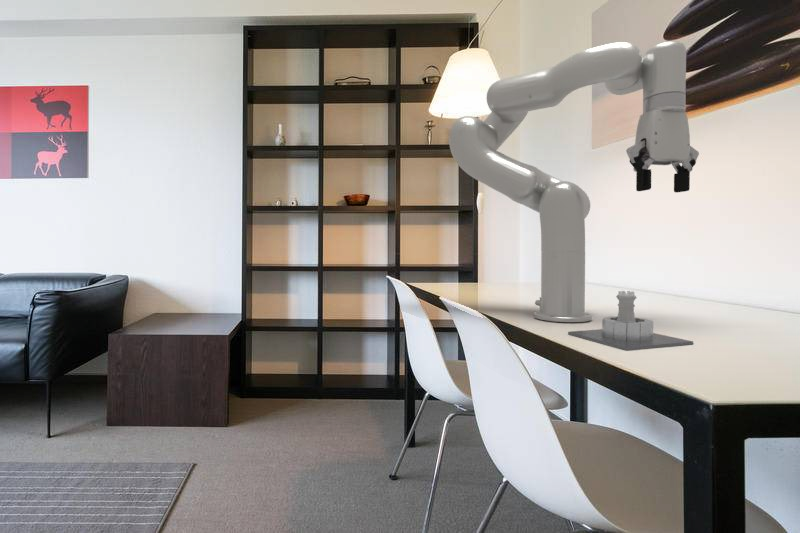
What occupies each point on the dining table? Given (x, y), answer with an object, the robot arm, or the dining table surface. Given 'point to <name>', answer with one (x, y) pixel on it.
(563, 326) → the dining table surface
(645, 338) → the socket
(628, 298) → the rook chess piece
